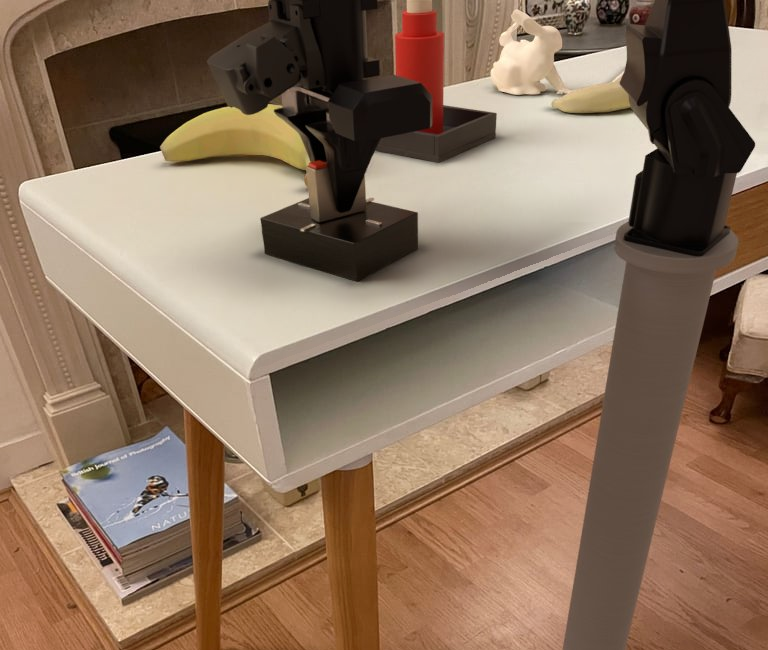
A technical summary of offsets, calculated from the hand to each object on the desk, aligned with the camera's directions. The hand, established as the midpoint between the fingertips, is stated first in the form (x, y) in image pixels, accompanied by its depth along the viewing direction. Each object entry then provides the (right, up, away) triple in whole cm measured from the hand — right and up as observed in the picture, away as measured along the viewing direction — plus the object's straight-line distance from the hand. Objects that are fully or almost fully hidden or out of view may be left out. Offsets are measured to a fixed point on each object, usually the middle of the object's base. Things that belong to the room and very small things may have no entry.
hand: (338, 208), depth 64 cm
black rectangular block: (0, -3, +2) cm, 4 cm away
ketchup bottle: (+8, +18, +27) cm, 33 cm away
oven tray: (+8, +18, +27) cm, 33 cm away
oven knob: (0, 0, 0) cm, 0 cm away
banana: (-10, +12, +20) cm, 25 cm away
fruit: (+33, +27, +37) cm, 56 cm away
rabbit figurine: (+22, +32, +43) cm, 58 cm away
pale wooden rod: (+36, +35, +47) cm, 69 cm away
